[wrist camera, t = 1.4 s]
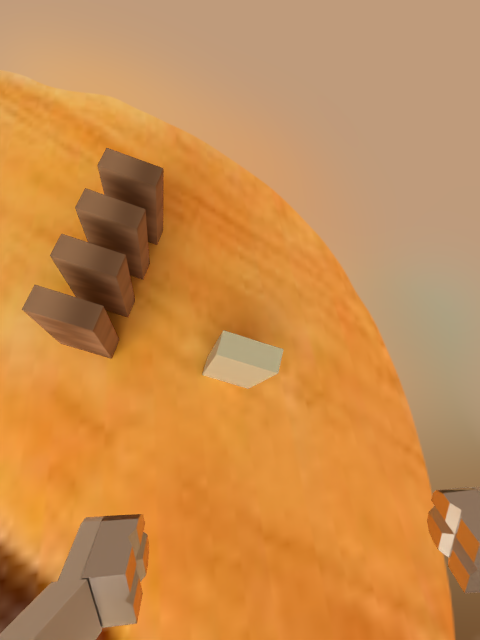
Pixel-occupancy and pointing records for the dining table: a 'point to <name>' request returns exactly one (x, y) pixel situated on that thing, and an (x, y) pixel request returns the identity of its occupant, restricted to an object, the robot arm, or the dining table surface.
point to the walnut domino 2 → (116, 228)
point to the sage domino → (242, 360)
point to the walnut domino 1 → (135, 187)
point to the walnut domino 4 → (72, 321)
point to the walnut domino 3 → (95, 274)
